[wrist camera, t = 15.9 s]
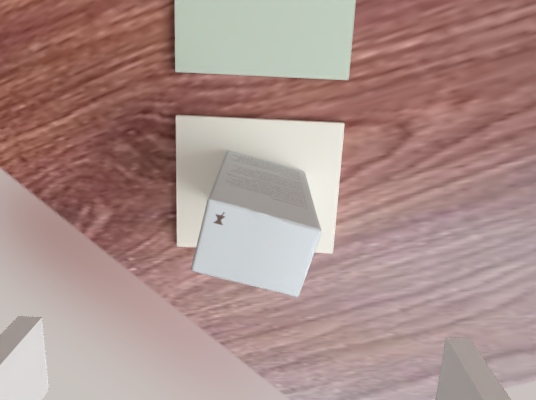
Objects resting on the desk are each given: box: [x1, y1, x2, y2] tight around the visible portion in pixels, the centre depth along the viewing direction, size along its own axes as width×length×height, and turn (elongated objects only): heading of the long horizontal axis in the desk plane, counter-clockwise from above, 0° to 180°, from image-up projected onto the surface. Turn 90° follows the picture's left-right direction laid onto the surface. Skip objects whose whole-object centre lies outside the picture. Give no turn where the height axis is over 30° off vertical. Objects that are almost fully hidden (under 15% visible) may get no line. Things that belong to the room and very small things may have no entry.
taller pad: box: [176, 115, 345, 254], centre depth 37 cm, size 12×10×1 cm
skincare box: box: [191, 150, 322, 297], centre depth 31 cm, size 6×4×12 cm
